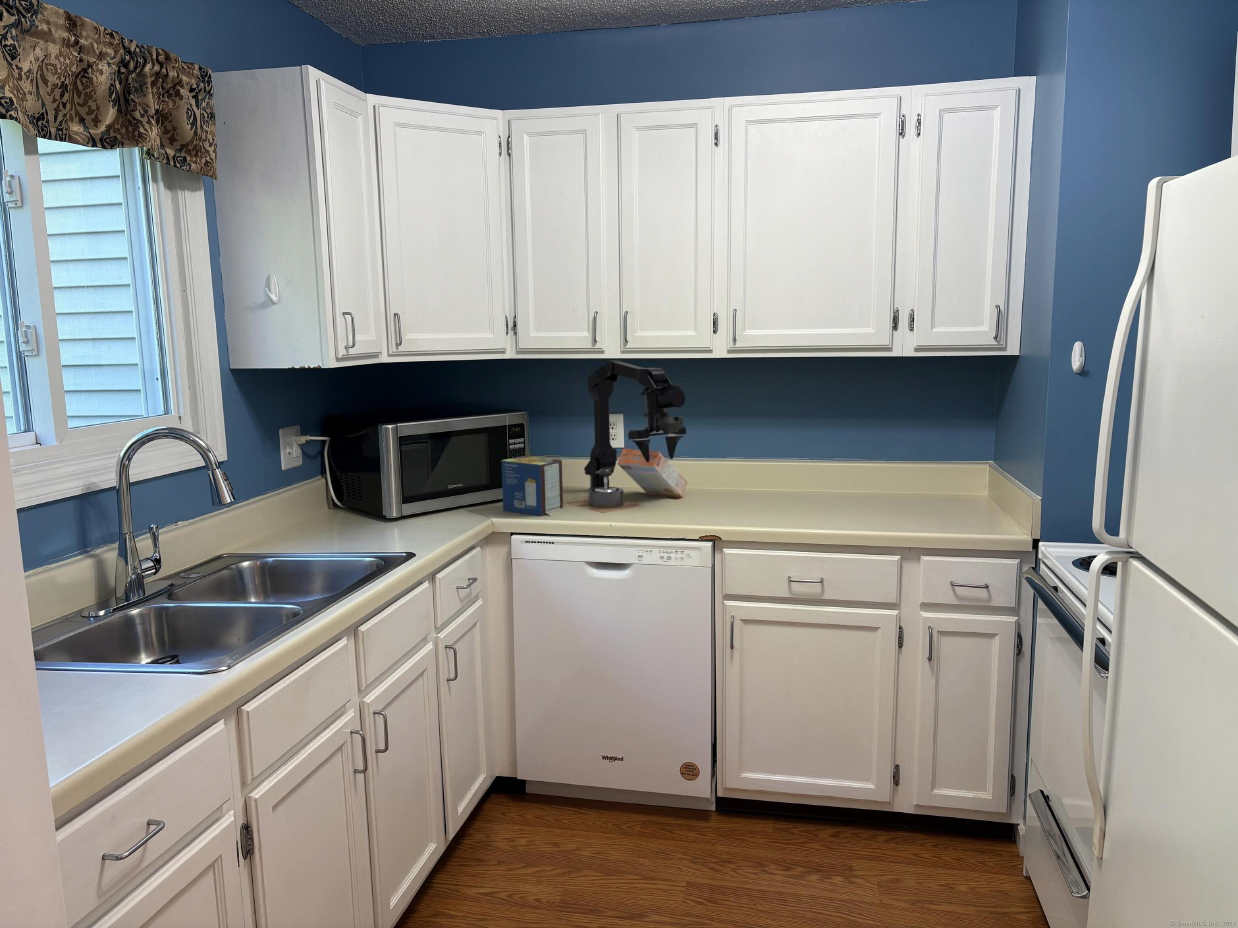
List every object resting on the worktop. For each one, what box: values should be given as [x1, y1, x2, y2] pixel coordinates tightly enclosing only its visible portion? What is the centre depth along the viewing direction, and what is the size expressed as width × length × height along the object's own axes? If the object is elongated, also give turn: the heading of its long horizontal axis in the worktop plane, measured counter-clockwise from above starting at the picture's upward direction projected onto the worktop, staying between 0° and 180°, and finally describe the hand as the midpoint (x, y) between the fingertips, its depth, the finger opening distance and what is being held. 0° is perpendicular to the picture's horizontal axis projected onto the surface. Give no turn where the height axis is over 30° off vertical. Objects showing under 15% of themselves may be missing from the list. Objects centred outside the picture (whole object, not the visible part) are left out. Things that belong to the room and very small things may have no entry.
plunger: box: [595, 468, 617, 492], centre depth 261 cm, size 7×7×7 cm
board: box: [563, 496, 645, 514], centre depth 264 cm, size 22×16×1 cm
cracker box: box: [616, 448, 688, 498], centre depth 273 cm, size 14×6×21 cm
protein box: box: [500, 455, 564, 517], centre depth 257 cm, size 10×15×16 cm
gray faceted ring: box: [587, 486, 624, 508], centre depth 263 cm, size 13×10×4 cm
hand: (659, 460), depth 262 cm, fingers open, 9 cm apart
